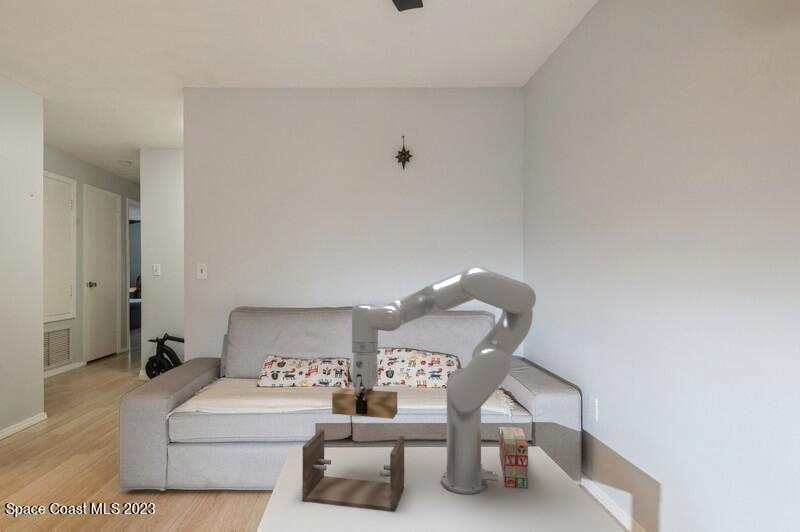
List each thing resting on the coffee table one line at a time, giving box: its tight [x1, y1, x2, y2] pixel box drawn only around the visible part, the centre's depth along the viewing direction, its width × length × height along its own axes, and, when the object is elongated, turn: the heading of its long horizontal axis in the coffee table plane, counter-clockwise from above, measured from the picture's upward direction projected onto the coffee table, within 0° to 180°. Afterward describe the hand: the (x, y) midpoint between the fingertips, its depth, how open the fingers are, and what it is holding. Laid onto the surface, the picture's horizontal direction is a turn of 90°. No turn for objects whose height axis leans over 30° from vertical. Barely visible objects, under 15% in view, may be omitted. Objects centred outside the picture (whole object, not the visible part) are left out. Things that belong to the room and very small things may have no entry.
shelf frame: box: [301, 429, 405, 512], centre depth 115 cm, size 24×12×14 cm, turn 78°
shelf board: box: [331, 387, 398, 419], centre depth 124 cm, size 18×5×6 cm, turn 77°
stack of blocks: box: [498, 426, 529, 490], centre depth 129 cm, size 21×6×12 cm, turn 171°
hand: (364, 410), depth 124 cm, fingers closed on shelf board, 5 cm apart
